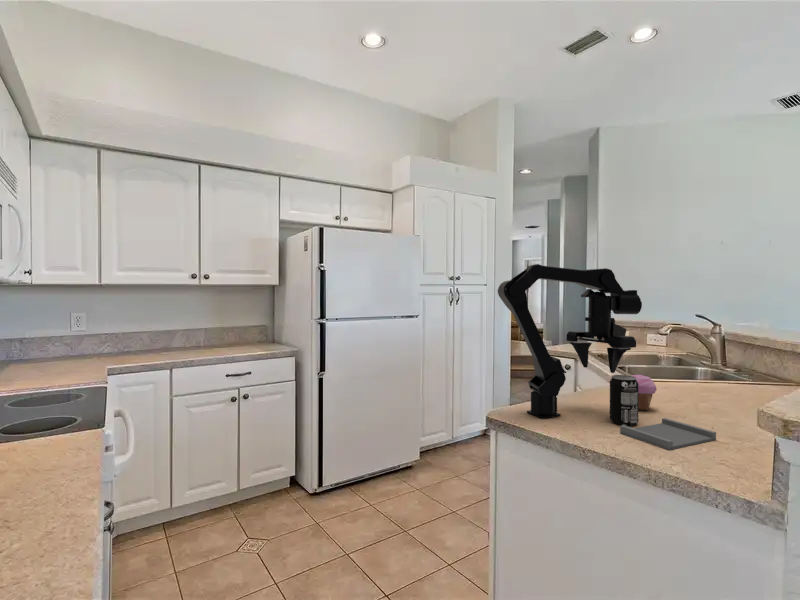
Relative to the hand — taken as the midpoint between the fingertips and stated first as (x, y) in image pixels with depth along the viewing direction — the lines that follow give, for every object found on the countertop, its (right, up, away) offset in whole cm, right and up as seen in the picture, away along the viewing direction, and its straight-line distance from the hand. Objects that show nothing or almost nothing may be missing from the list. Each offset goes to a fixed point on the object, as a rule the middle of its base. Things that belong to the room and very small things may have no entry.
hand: (598, 370), depth 117 cm
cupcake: (+15, -13, +6) cm, 20 cm away
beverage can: (+3, -13, -8) cm, 15 cm away
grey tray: (+7, -13, -18) cm, 23 cm away
